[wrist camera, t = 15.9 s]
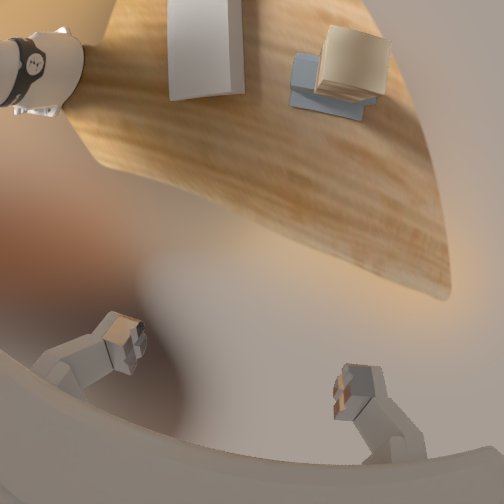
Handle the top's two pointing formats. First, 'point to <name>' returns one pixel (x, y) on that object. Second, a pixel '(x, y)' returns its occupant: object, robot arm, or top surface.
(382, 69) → the ash post
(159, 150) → the top surface
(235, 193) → the top surface
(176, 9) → the decorative molding
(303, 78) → the ridge block
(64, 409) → the robot arm
